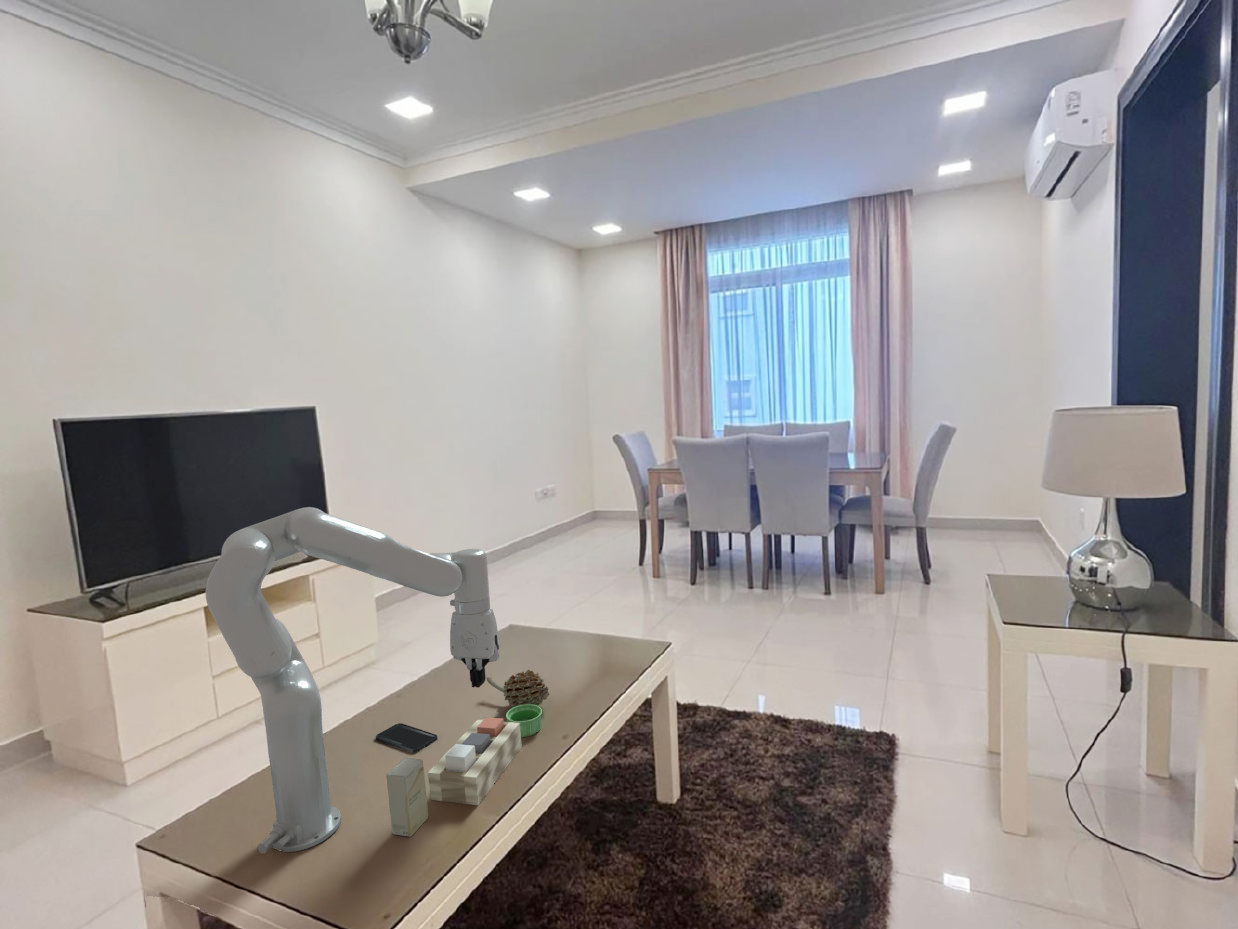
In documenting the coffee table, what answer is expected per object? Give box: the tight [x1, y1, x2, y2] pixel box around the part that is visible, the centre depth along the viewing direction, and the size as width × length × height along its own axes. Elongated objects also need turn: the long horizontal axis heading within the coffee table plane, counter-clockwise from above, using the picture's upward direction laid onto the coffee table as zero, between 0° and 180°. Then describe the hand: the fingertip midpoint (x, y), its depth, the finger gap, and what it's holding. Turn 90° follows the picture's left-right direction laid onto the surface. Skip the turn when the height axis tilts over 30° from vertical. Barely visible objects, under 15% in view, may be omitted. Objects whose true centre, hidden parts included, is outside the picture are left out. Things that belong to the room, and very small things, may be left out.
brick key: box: [477, 717, 505, 737], centre depth 147 cm, size 4×4×6 cm
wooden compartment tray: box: [427, 719, 523, 806], centre depth 140 cm, size 22×11×6 cm, turn 165°
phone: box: [375, 722, 439, 754], centre depth 156 cm, size 8×1×15 cm
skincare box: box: [385, 757, 429, 837], centre depth 123 cm, size 6×4×12 cm
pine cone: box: [486, 669, 550, 707], centre depth 171 cm, size 22×10×10 cm, turn 62°
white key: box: [444, 743, 476, 773], centre depth 133 cm, size 4×4×6 cm
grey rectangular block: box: [462, 733, 491, 754], centre depth 140 cm, size 4×4×6 cm
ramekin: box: [505, 704, 543, 738], centre depth 158 cm, size 9×9×4 cm
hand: (478, 684), depth 142 cm, fingers closed
